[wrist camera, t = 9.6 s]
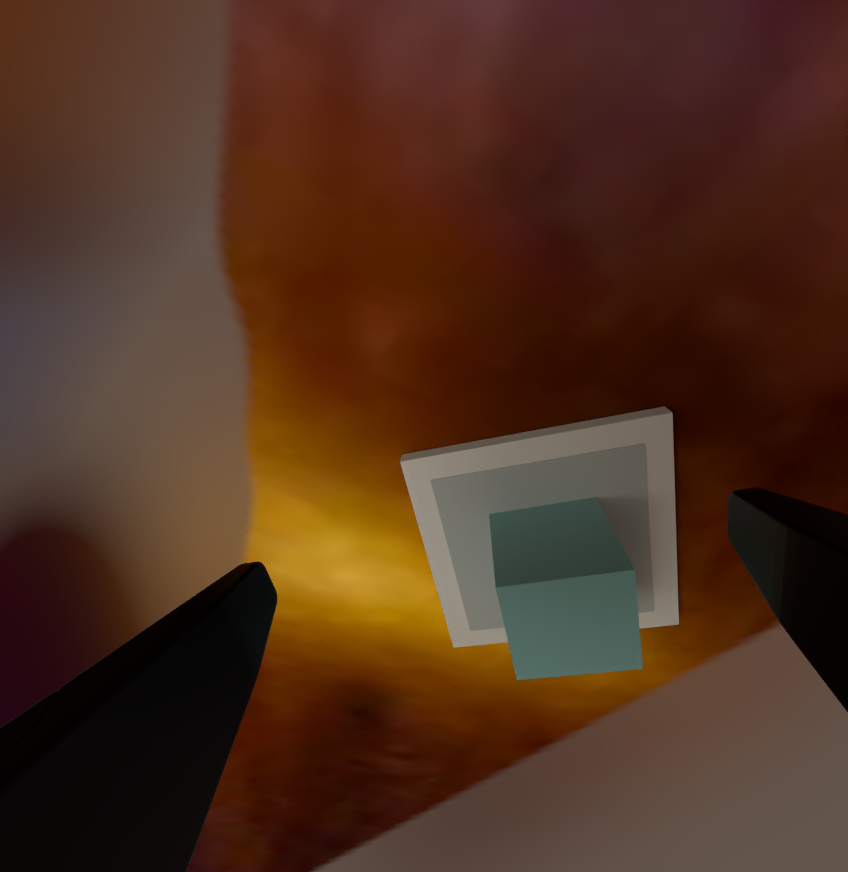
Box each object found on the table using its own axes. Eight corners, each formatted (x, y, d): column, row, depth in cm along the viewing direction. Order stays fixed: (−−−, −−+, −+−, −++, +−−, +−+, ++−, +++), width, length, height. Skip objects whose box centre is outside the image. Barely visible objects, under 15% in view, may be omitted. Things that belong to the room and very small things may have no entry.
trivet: (664, 406, 19) (673, 413, 18) (672, 612, 23) (679, 625, 23) (402, 454, 21) (399, 462, 20) (454, 636, 26) (453, 648, 25)
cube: (596, 496, 20) (634, 569, 16) (605, 581, 22) (642, 668, 17) (488, 514, 21) (495, 587, 16) (506, 593, 23) (517, 680, 18)
